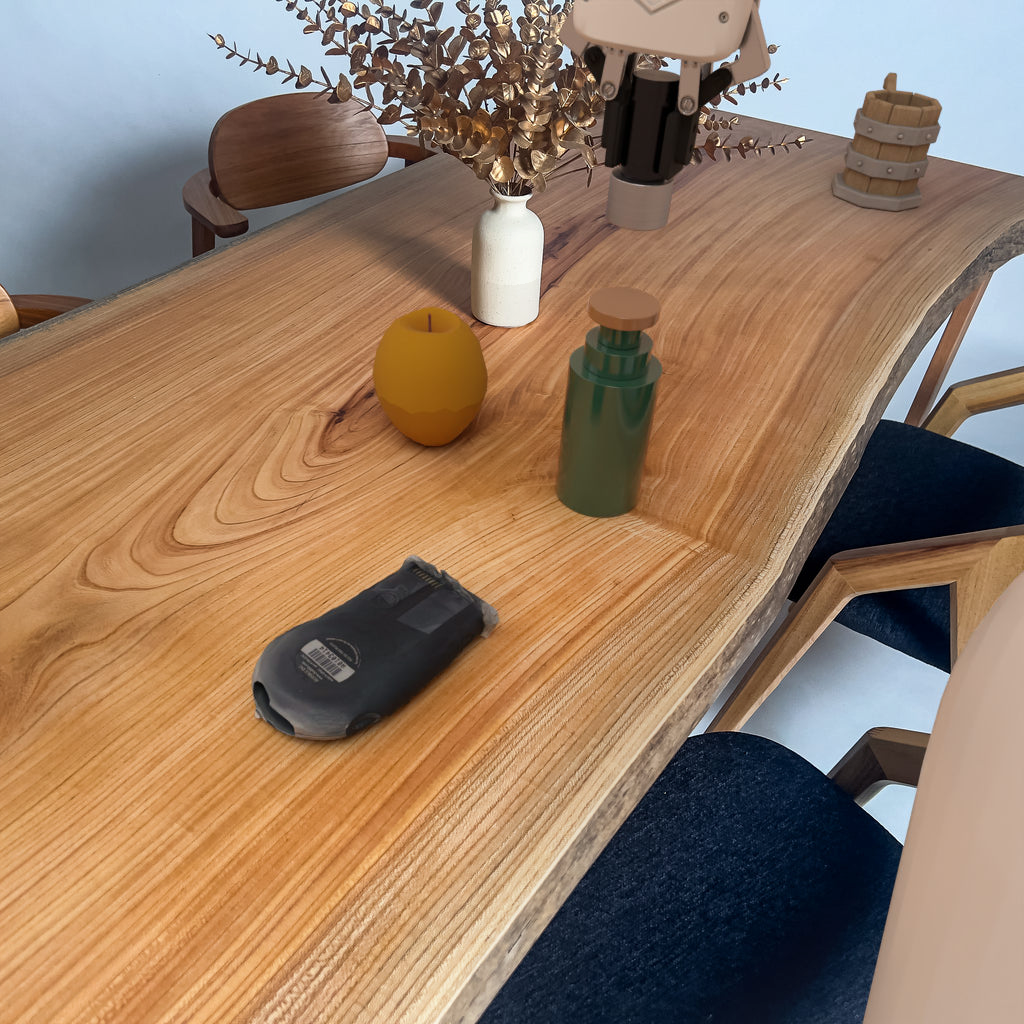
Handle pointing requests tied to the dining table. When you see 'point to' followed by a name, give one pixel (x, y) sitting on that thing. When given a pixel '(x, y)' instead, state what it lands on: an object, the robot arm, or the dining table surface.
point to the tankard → (889, 149)
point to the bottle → (609, 405)
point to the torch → (644, 155)
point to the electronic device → (368, 653)
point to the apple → (430, 375)
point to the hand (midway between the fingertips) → (644, 165)
